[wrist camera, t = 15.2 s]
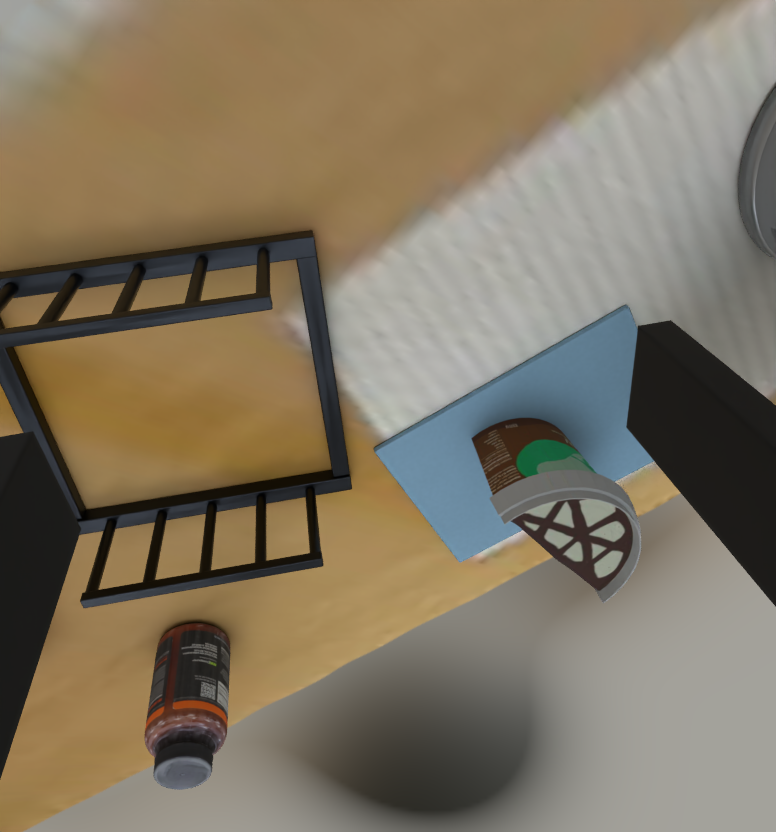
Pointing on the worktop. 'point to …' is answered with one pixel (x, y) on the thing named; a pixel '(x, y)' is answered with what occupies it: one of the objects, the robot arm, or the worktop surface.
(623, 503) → the food container
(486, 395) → the drying mat
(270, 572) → the dish rack
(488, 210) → the worktop surface
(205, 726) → the supplement bottle
